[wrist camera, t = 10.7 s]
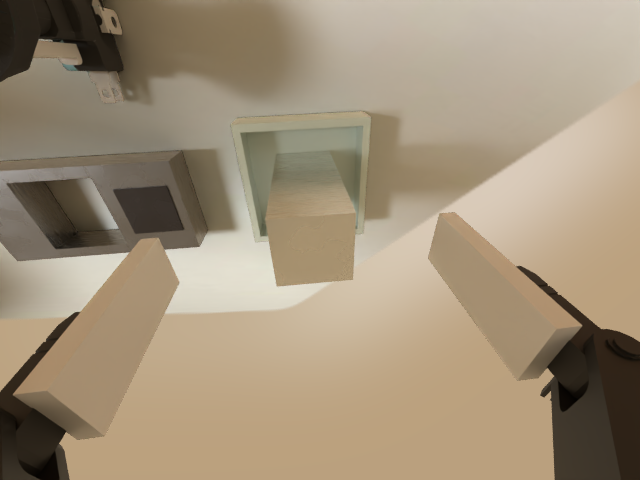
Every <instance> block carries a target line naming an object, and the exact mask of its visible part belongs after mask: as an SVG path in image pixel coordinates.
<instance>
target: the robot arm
mask: <svg viewBox="0 0 640 480" xmlns="http://www.w3.org/2000/svg"><path fill="white" fill-rule="evenodd" d="M428 259H429V260H430V262H431V263H432V264H433V266H434V267H435V268H436V270H437V271H438V273H439V274H440V275H441V277H442V278H443V280H444V281H445V282H446V283H447V285H448V286H449V288H450V289H451V291H452V292H453V293H454V295H455V296H456V297H457V299H458V300H459V302H460V303H461V304H462V306H463V307H464V308H465V310H466V311H467V313H468V314H469V315H470V317H471V318H472V319H473V321H474V322H475V324H476V325H477V326H478V328H479V329H480V330H481V332H482V333H483V335H484V336H485V337H486V339H487V340H488V341H489V343H490V344H491V346H492V347H493V348H494V350H495V351H496V352H497V354H498V355H499V356H500V358H501V359H502V361H503V362H504V363H505V365H506V366H507V368H508V369H509V370H510V372H511V373H512V375H513V376H514V377H515V379H516V380H517V381H520V380H527V379H534V378H539V376H541V374H542V373H543V372H544V371H545V369H547V368H548V369H549V370H550V371H551V373H552V374H553V375H554V377H553V378H552V380H551V381H550V382H549V383H548V384H547V385H546V386H545V387H544V388H543V390H542V392H541V396H542V397H545V396H546V395H547V394H548V393H549V392H550V391H551V399H550V400H551V401H552V423H553V424H552V425H553V447H554V472H555V480H640V342H639V341H637V340H635V339H634V338H632V337H630V336H628V335H626V334H623V333H621V332H618V331H613V330H609V329H600V328H599V327H598V326H597V325H595V324H594V323H593V322H592V321H591V320H589V319H588V318H587V317H586V316H585V315H583V314H582V313H581V312H580V311H579V310H577V309H576V308H575V307H574V306H573V305H572V304H571V303H569V302H568V301H567V300H566V299H565V298H563V297H562V296H561V295H558V294H557V292H556V291H555V290H554V289H553V288H551V287H550V286H548V284H547V283H546V282H544V281H543V280H542V279H541V278H540V277H539V276H537V275H536V274H535V273H533V272H531V271H529V270H527V269H525V268H523V267H522V266H515V265H513V264H512V263H511V262H510V261H509V260H508V259H507V258H506V257H504V256H503V255H502V254H501V253H500V252H499V251H498V250H497V249H495V248H494V247H493V246H492V245H491V244H490V243H489V242H488V241H486V240H485V239H484V238H483V237H482V236H481V235H479V234H478V233H477V232H476V231H475V230H474V229H473V228H472V227H471V226H470V225H468V224H467V223H466V222H465V221H464V220H463V219H462V218H460V217H459V216H458V215H457V214H456V213H454V212H452V213H440V214H439V217H438V221H437V225H436V229H435V233H434V237H433V241H432V245H431V249H430V253H429V257H428ZM178 284H179V281H178V278H177V276H176V274H175V272H174V270H173V268H172V265H171V263H170V261H169V259H168V257H167V255H166V253H165V250H164V248H163V246H162V244H161V242H160V240H159V238H148V239H140V241H139V242H138V243H137V244H136V245H135V247H134V248H133V249H132V250H131V252H130V253H129V254H128V255H127V256H126V258H125V259H124V260H123V261H122V262H121V264H120V265H119V266H118V267H117V269H116V270H115V271H114V272H113V273H112V275H111V276H110V277H109V278H108V279H107V281H106V282H105V283H104V284H103V286H102V287H101V288H100V289H99V290H98V292H97V293H96V294H95V295H94V296H93V298H92V299H91V300H90V301H89V302H88V304H87V305H86V306H85V307H84V309H83V310H82V311H81V312H75V313H74V314H72V315H71V316H70V317H68V318H67V319H66V320H64V321H63V322H62V323H60V324H59V325H58V326H57V327H56V328H55V330H54V331H53V332H52V333H51V334H50V335H49V336H48V338H47V339H46V342H43V343H42V344H41V346H40V347H39V348H38V349H37V350H36V353H35V354H33V355H32V356H31V357H30V359H28V361H27V362H26V363H25V364H24V365H23V366H22V367H21V369H20V370H19V371H18V372H17V373H16V374H15V376H14V377H13V378H12V379H11V380H10V381H9V382H8V384H7V385H6V386H5V387H4V388H3V389H2V390H1V392H0V480H69V474H68V470H67V463H66V458H65V452H64V449H63V448H62V446H61V445H60V444H59V442H60V441H61V439H62V438H63V436H64V434H65V433H66V432H67V433H68V434H70V435H71V436H73V437H74V438H76V439H77V440H80V439H88V438H95V437H102V436H105V435H106V433H107V431H108V428H109V426H110V424H111V422H112V420H113V418H114V416H115V414H116V412H117V410H118V408H119V406H120V404H121V402H122V400H123V398H124V395H125V393H126V391H127V389H128V387H129V385H130V383H131V381H132V379H133V377H134V375H135V373H136V371H137V369H138V367H139V365H140V362H141V360H142V358H143V356H144V354H145V352H146V350H147V348H148V346H149V344H150V342H151V340H152V338H153V336H154V334H155V332H156V330H157V328H158V326H159V323H160V321H161V319H162V317H163V315H164V313H165V311H166V309H167V307H168V305H169V303H170V301H171V299H172V297H173V295H174V293H175V291H176V288H177V286H178Z"/></svg>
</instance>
